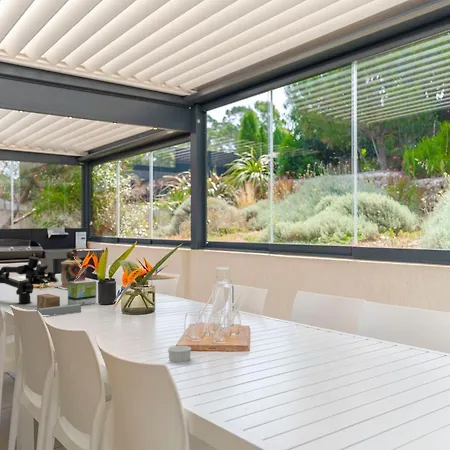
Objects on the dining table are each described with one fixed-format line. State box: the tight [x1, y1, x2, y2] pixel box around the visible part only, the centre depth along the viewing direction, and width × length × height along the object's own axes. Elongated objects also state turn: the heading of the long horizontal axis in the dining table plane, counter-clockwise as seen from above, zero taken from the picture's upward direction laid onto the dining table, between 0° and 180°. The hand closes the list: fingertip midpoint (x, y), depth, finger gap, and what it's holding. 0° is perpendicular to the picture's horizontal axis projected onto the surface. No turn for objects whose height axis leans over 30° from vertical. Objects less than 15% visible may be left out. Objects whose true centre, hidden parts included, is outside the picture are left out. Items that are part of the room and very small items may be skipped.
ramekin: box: [167, 345, 192, 363], centre depth 184 cm, size 9×9×4 cm
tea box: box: [67, 279, 97, 306], centre depth 310 cm, size 15×10×15 cm, turn 143°
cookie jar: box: [53, 247, 87, 291], centre depth 391 cm, size 25×25×32 cm
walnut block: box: [36, 293, 61, 311], centre depth 286 cm, size 16×7×9 cm, turn 43°
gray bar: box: [37, 304, 82, 315], centre depth 275 cm, size 24×4×4 cm, turn 132°
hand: (51, 281), depth 300 cm, fingers open, 9 cm apart
